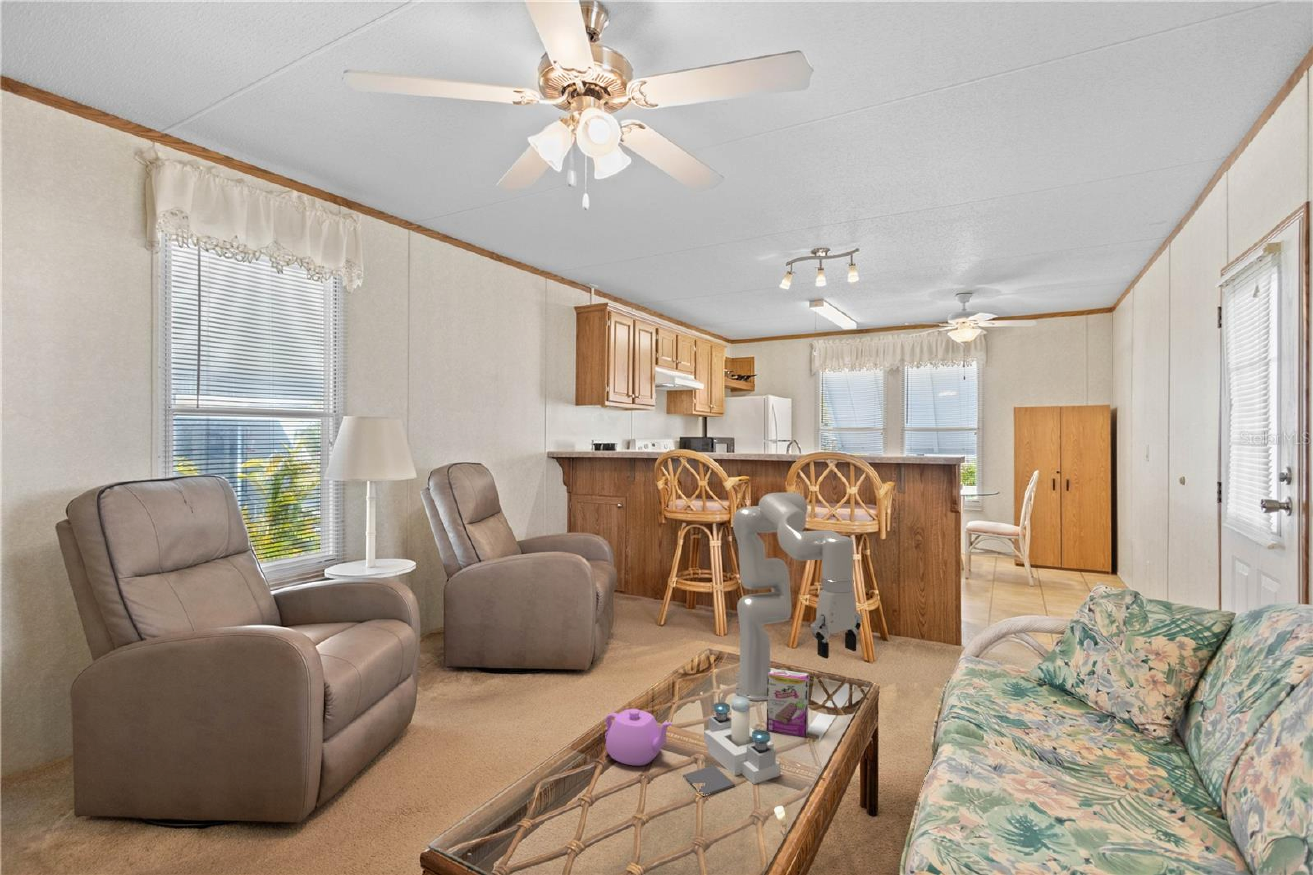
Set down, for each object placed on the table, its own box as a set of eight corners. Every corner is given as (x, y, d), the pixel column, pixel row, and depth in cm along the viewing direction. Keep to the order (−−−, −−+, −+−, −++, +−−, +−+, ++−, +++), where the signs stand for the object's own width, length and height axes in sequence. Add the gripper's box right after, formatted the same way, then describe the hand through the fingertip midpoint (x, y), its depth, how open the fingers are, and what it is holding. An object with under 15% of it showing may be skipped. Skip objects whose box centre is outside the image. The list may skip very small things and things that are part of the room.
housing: (697, 743, 164) (697, 719, 164) (734, 733, 170) (734, 710, 170) (747, 786, 145) (747, 759, 145) (786, 773, 151) (786, 747, 150)
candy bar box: (766, 732, 171) (766, 673, 170) (768, 723, 176) (769, 667, 175) (807, 738, 167) (807, 679, 167) (808, 730, 172) (809, 672, 172)
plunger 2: (748, 752, 151) (748, 732, 151) (762, 748, 153) (762, 728, 153) (759, 761, 147) (759, 740, 147) (773, 756, 149) (774, 736, 149)
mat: (682, 777, 149) (682, 774, 149) (713, 767, 153) (713, 765, 153) (703, 797, 141) (703, 794, 141) (734, 786, 145) (734, 783, 145)
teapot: (591, 759, 157) (591, 713, 156) (618, 735, 168) (618, 693, 168) (660, 780, 147) (660, 732, 147) (683, 754, 159) (684, 709, 159)
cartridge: (727, 755, 158) (727, 698, 158) (741, 751, 161) (742, 694, 160) (738, 764, 154) (738, 706, 154) (753, 760, 156) (753, 702, 156)
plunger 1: (710, 722, 166) (710, 704, 166) (723, 719, 168) (723, 701, 168) (719, 729, 162) (719, 711, 162) (732, 726, 164) (733, 707, 164)
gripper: (850, 578, 161) (849, 642, 161) (801, 586, 152) (800, 654, 152) (873, 584, 154) (872, 651, 155) (823, 593, 146) (823, 664, 146)
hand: (837, 653), depth 154 cm, fingers open, 9 cm apart
